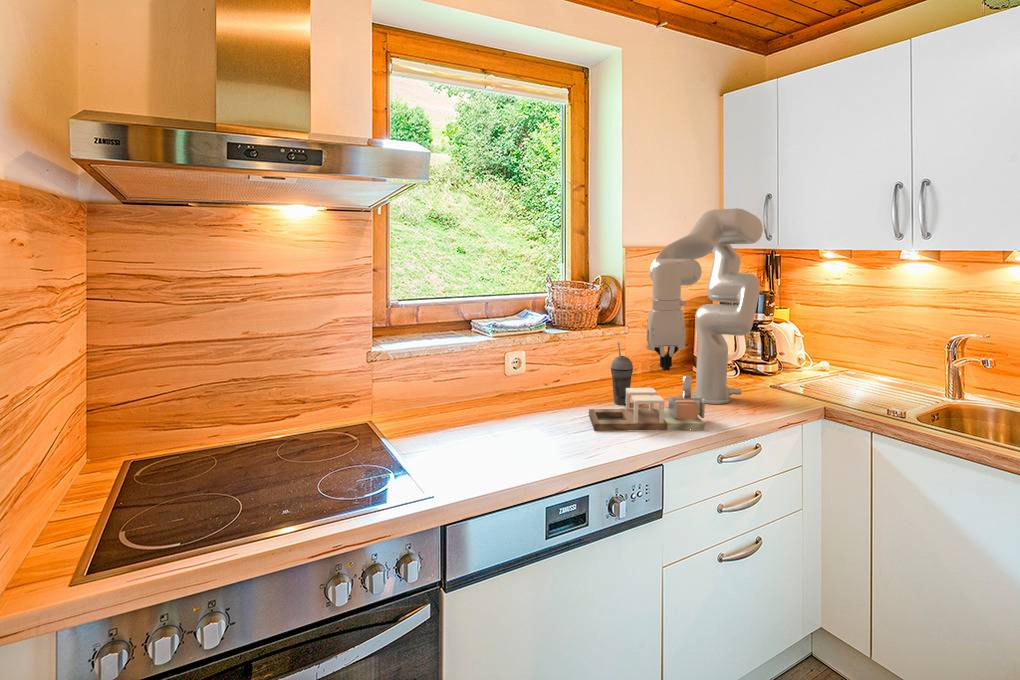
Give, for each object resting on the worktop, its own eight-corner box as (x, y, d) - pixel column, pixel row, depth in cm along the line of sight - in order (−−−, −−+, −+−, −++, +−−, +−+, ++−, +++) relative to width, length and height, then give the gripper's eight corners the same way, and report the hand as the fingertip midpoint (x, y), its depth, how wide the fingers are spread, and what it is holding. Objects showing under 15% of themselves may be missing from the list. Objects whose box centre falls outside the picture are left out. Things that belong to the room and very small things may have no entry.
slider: (696, 411, 163) (698, 373, 161) (704, 418, 156) (705, 379, 154) (668, 411, 163) (669, 374, 162) (674, 418, 156) (675, 379, 155)
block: (692, 412, 162) (692, 399, 162) (697, 418, 157) (698, 404, 156) (671, 413, 163) (671, 399, 162) (676, 418, 157) (676, 404, 157)
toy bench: (652, 408, 167) (652, 387, 166) (663, 423, 153) (664, 400, 152) (625, 409, 168) (625, 387, 167) (634, 423, 153) (634, 400, 152)
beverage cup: (630, 406, 177) (632, 344, 174) (608, 405, 179) (608, 343, 176) (634, 401, 184) (635, 341, 180) (611, 399, 186) (612, 340, 183)
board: (688, 415, 167) (689, 408, 167) (703, 430, 153) (704, 423, 153) (588, 415, 168) (588, 409, 168) (594, 430, 154) (594, 423, 154)
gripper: (689, 303, 159) (688, 365, 162) (636, 304, 159) (636, 367, 163) (697, 306, 151) (696, 371, 155) (642, 308, 152) (641, 373, 155)
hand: (665, 369), depth 159 cm, fingers closed
